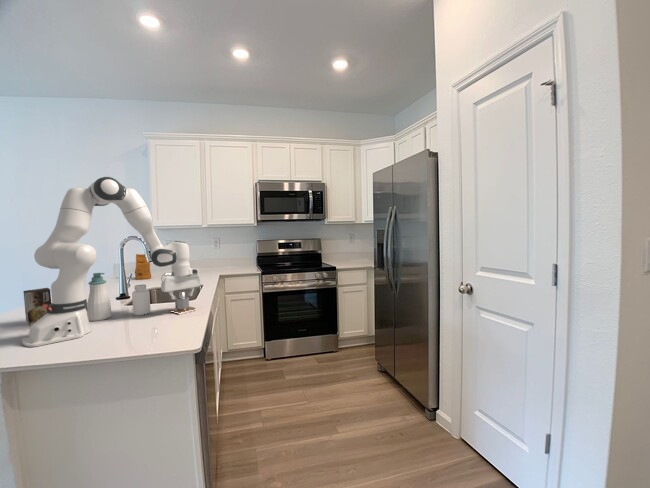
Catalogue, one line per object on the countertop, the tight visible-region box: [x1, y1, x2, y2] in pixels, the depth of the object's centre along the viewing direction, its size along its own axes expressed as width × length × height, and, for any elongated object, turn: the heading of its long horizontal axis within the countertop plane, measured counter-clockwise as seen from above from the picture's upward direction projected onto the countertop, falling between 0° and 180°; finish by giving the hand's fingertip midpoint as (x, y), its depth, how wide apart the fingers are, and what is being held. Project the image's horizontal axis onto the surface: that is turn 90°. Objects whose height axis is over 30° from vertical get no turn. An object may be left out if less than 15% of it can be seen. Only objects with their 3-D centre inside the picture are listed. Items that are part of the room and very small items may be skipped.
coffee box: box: [23, 287, 52, 327], centre depth 153 cm, size 9×6×16 cm
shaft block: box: [169, 291, 196, 313], centre depth 169 cm, size 9×9×10 cm
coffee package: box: [134, 253, 152, 281], centre depth 280 cm, size 10×12×22 cm
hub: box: [174, 296, 190, 309], centre depth 169 cm, size 6×6×5 cm
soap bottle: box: [87, 272, 112, 322], centre depth 158 cm, size 10×10×23 cm
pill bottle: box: [131, 284, 151, 316], centre depth 166 cm, size 8×8×15 cm
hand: (182, 297), depth 168 cm, fingers open, 8 cm apart
